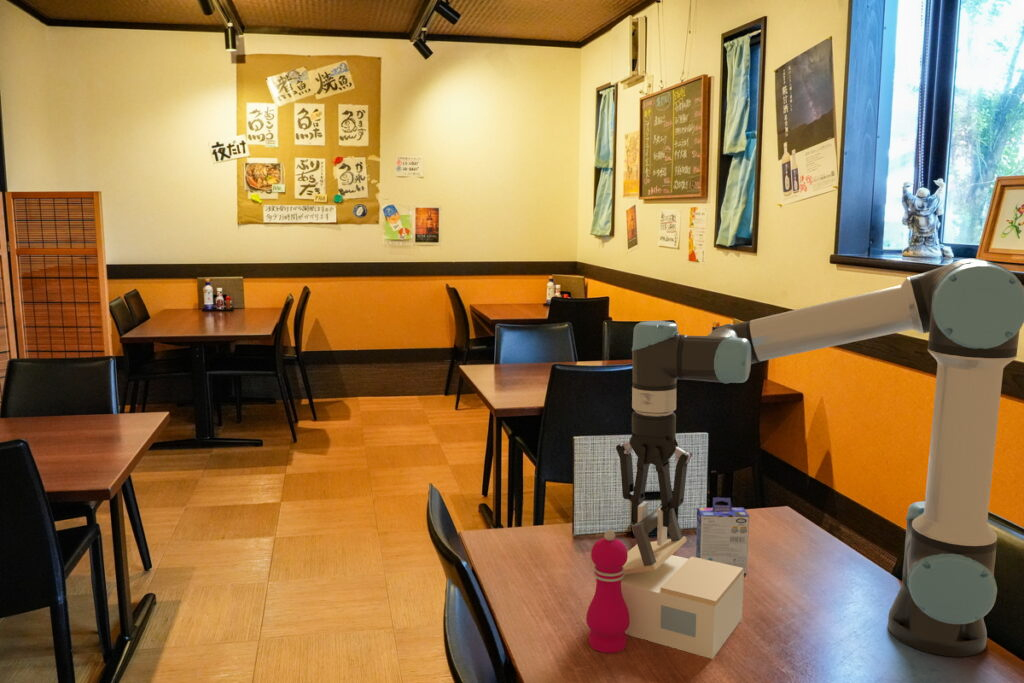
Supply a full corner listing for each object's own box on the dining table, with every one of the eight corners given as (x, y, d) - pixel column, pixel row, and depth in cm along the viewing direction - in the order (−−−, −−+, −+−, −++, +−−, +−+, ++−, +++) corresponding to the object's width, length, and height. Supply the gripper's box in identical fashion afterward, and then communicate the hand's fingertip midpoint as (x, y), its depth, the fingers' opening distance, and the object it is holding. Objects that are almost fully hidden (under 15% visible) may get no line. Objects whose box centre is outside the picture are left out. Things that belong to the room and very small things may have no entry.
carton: (741, 618, 151) (744, 566, 149) (712, 659, 137) (714, 602, 136) (637, 592, 161) (639, 543, 160) (600, 627, 148) (601, 574, 146)
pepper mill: (601, 629, 147) (603, 519, 144) (637, 642, 143) (640, 529, 140) (577, 645, 142) (579, 531, 139) (614, 659, 137) (616, 542, 134)
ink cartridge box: (741, 563, 175) (744, 495, 172) (748, 574, 169) (751, 505, 167) (693, 562, 175) (696, 495, 173) (699, 574, 169) (701, 504, 167)
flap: (686, 540, 154) (673, 499, 154) (655, 570, 141) (641, 525, 142) (638, 548, 159) (626, 508, 160) (604, 577, 147) (590, 533, 147)
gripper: (602, 410, 147) (601, 539, 150) (691, 421, 138) (688, 557, 142) (620, 402, 153) (619, 526, 157) (706, 411, 145) (703, 542, 148)
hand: (652, 540), depth 149 cm, fingers open, 3 cm apart
